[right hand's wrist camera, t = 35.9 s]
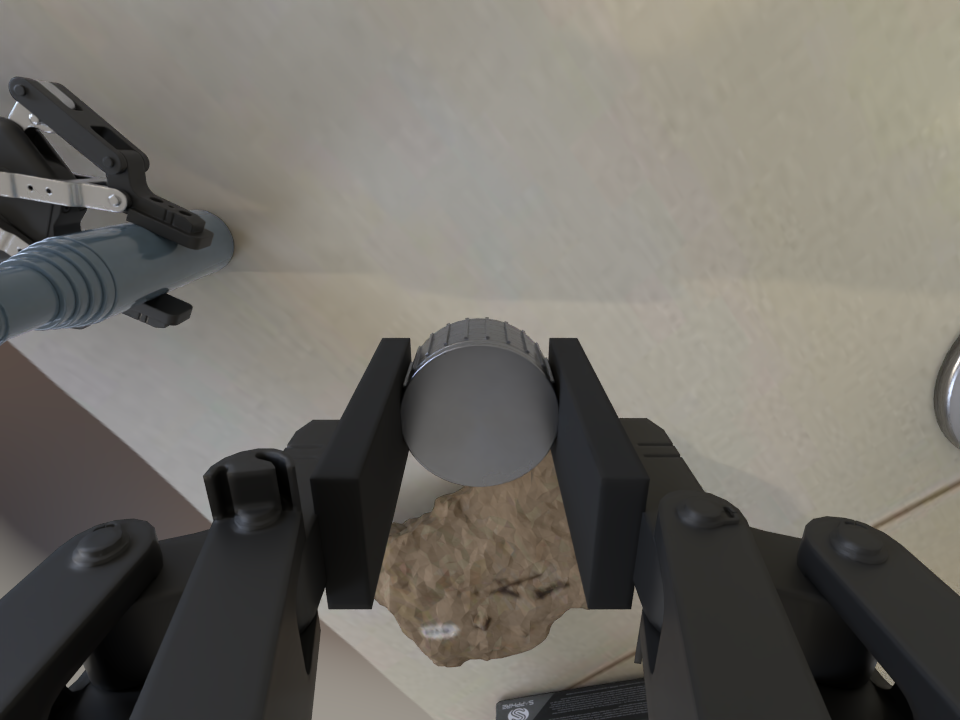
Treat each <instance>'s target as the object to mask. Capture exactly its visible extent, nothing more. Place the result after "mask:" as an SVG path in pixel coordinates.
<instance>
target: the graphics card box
mask: <svg viewBox="0 0 960 720" xmlns="http://www.w3.org/2000/svg"><path fill="white" fill-rule="evenodd" d="M496 720H649V718H648V708H647V699H646V689H645V679H644V678H642V679H637V680H630V681H624V682H616V683H611V684H604V685H599V686H592V687H585V688H580V689H574V690H566V691H560V692H555V693H553V692H552V693H547V694H541V695H535V696H529V697H523V698H516V699H511V700H510V699H509V700H504V701H499V702H498V703H497V704H496Z"/></svg>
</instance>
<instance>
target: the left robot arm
mask: <svg viewBox="0 0 960 720" xmlns="http://www.w3.org/2000/svg"><path fill="white" fill-rule="evenodd" d="M9 91H10V93H11V95H12V97H13V98H14V99H15V100H16V101H17V102H16V103H15V105H14V107H13V109H12V111H11V112H10V114H9V116H8V118H3V117H0V263H2V262H4V261H6V260H8V259H9V258H10V257H12V256H14V255H16V254H17V253H18V252H20V251H21V250H23V249H25V248H27V247H28V246H30V245H31V244H33V243H35V242H39V241H41V240H43V239H46V238H49V237H54V236H59V235H64V234H69V233H75V232H80V231H81V226H80V221H81V219H82V218H83V216H84V214H85V212H86V211H87V208H93V209H99V210H105V211H111V212H117V213H119V212H123V213H126V214H128V215H127V221H129V222H131V223H133V224H136V225H138V226H140V227H143V228H145V229H147V230H149V231H151V232H153V233H155V234H158V235H160V236H162V237H164V238H167V239H169V240H171V241H173V242H175V243H178V244H180V245H182V246H184V247H186V248H189V249H193V250H199V249H202V248H205V247H208V246H211V243H212V239H213V236H214V233H213V232H211V231H210V230H208V229H205V228H204V227H205V224H206V222H205V221H204V220H203V219H202V218H201V217H200V216H199V215H197V214H195V213H193V212H191V211H188V210H187V209H184V208H182V207H180V206H178V205H176V204H174V203H171V202H169V201H167V200H165V199H163V198H161V197H159V196H157V195H155V194H153V193H152V192H151V191H150V189H149V188H148V186H147V183H146V176H145V172H146V171H147V170H148V169H149V160H148V157H147V156H146V155H145V154H144V153H143V152H142V151H141V150H140V149H138V148H137V147H136V146H135V145H134V144H132V143H131V142H130V141H129V140H128V139H126V138H125V137H124V136H123V135H122V134H120V133H119V132H118V131H117V130H116V129H114V128H113V127H112V126H111V125H110V124H109V123H107V122H106V121H105V120H104V119H103V118H101V117H100V116H99V115H98V114H97V113H95V112H94V111H93V110H92V109H91V108H89V107H88V106H87V105H86V104H85V103H83V102H82V101H81V100H80V99H79V98H77V97H76V96H75V95H74V94H73V93H71V92H70V91H69V90H68V89H67V88H66V87H64V86H63V85H61V84H59V83H54V82H48V81H42V80H35V79H29V78H23V77H14V78H12V79H11V80H10V82H9ZM39 130H41V131H43V132H46V133H57V134H58V135H59V136H61V137H62V138H63V139H64V140H66V141H67V142H68V143H69V144H70V145H72V146H73V147H74V148H75V149H77V150H78V151H79V152H80V153H82V154H83V155H84V156H85V157H87V158H88V159H89V160H90V161H91V162H93V163H94V164H95V165H96V166H98V167H99V168H100V169H101V170H103V171H104V172H105V173H106V177H107V179H106V178H101V177H95V176H89V175H84V174H78V173H72V172H71V171H70V169H69V168H68V167H67V165H66V164H65V163H64V162H63V160H62V159H61V158H60V156H59V155H58V154H57V152H56V151H55V150H54V149H53V147H52V146H51V145H50V143H49V142H48V141H47V139H46V138H45V137H44V136H43V134H42V133H41V132H40V131H39ZM192 308H193V307H192V305H190V304H189V303H187V302H184V301H182V300H180V299H177V298H175V297H173V296H171V295H168V294H166V293H165V294H163V295H160V296H158V297H156V298H154V299H151V300H149V301H147V302H145V303H142V304H140V305H138V306H135V307H133V308H131V309H129V310H126V311H124V312H122V313H123V314H125V315H128V316H130V317H132V318H135V319H137V320H139V321H142V322H144V323H146V324H149V325H151V326H153V327H157V328H166V327H168V326H169V325H178V324H180V323H182V322H183V321H185V320H187V319H189V318H190V315H191V311H192ZM90 325H91V324H90ZM90 325H87V326H84V327H73V328H74V329H84V328H86V327H88V326H90Z"/></svg>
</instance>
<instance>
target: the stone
mask: <svg viewBox="0 0 960 720" xmlns="http://www.w3.org/2000/svg"><path fill="white" fill-rule="evenodd" d="M374 599H375V600H377V602H378V603H379V604H380V605H382V606H385V607H386V608H388V610H389V611H390V612H391V613H392V614H393V615H394V617H395V618H396V620H397V622H398V623H399V625H400V627H401V629H402V632H403V633H404V634H405V635H406V636H407V637H409V638H410V639H412V640H413V641H414V642H415V643H416V644H417V646H418V647H419V648H420V649H421V651H422V652H423V653H424V654H425V655H427V656H428V657H429V658H430V659H431V660H432V661H433V663H434V664H436V665H437V666H445V667H457V666H461V665H462V664H463V663H464V662H465V661H468V660H470V659H482V660H485V661H488V660H490V659H497V658H504V657H507V656H511V655H515V654H519V653H522V652H525V651H528V650H531V649H533V648H534V647H536V646H537V645H538V644H540V643H541V642H543V641H544V640H545V639H546V637H547V636H548V634H549V631H550V627H551V625H552V624H553V622H554V621H555V620H557V619H558V618H560V617H561V616H562V615H563V614H564V613H565V612H566V611H567V610H569V609H570V608H584V609H588V607H587V603H586V598H585V594H584V590H583V586H582V581H581V577H580V573H579V569H578V564H577V560H576V556H575V552H574V547H573V543H572V539H571V535H570V530H569V526H568V522H567V518H566V513H565V509H564V505H563V501H562V496H561V492H560V488H559V484H558V479H557V475H556V471H555V467H554V462H553V458H552V454H551V450H549V452H548V454H547V455H546V456H545V457H544V459H543V460H542V461H541V462H540V463H539V464H538V465H537V466H536V467H535V468H533V469H532V470H531V471H529V472H528V473H526V474H525V475H523V476H521V477H519V478H517V479H515V480H513V481H510V482H507V483H504V484H500V485H495V486H487V487H471V486H465V487H463V488H462V489H461V490H459V491H457V492H455V493H453V494H447V495H443V496H441V497H439V498H437V499H436V500H435V506H434V509H433V510H432V511H431V512H430V513H425V514H423V515H422V516H421V517H420V518H411V519H408V520H407V521H405V523H404V524H397V523H394V524H392V525H391V529H390V533H389V538H388V542H387V546H386V550H385V555H384V559H383V563H382V567H381V572H380V576H379V580H378V584H377V589H376V593H375V597H374ZM588 610H590V609H588Z"/></svg>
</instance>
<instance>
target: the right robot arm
mask: <svg viewBox="0 0 960 720" xmlns="http://www.w3.org/2000/svg"><path fill="white" fill-rule="evenodd" d="M410 362H411V345H410V338H382V340H381V342H380V344H379V346H378V348H377V350H376V351H375V353H374V355H373V357H372V359H371V361H370V363H369V365H368V367H367V369H366V371H365V373H364V375H363V377H362V378H361V380H360V382H359V384H358V386H357V388H356V390H355V392H354V394H353V396H352V398H351V400H350V402H349V404H348V406H347V407H346V409H345V411H344V413H343V415H342V417H341V419H340V420H312V421H311V422H309V423H308V424H306V425H305V426H303V427H302V428H301V429H299V430H298V431H296V432H295V434H294V436H293V437H292V439H291V440H290V442H289V443H288V445H287V448H285V449H284V451H281V450H277V449H253V450H248V451H242V452H239V453H236V454H234V455H231V456H228V457H226V458H224V459H222V460H221V461H219V462H217V463H216V464H214V465H213V466H211V467H210V468H209V470H208V471H207V472H206V473H205V474H204V475H203V478H204V482H205V487H206V491H207V495H208V499H209V504H210V508H211V512H212V516H213V520H214V521H213V523H212V525H211V528H210V529H209V530H205V531H202V532H198V533H194V534H189V535H184V536H180V537H175V538H170V539H165V540H161V541H158V538H157V535H156V531H155V528H154V527H153V526H152V525H151V524H150V523H148V522H147V521H143V520H138V519H124V520H115V521H111V522H107V523H103V524H100V525H97V526H94V527H92V528H90V529H88V530H86V531H84V532H82V533H80V534H78V535H76V536H74V537H73V538H71V539H70V540H69V541H67V542H66V543H64V544H63V545H62V546H60V547H59V548H58V549H57V550H55V551H54V552H53V553H52V554H51V555H50V556H49V557H48V558H46V559H45V560H44V561H43V562H42V563H41V564H40V565H39V566H37V567H36V568H35V569H34V570H33V571H32V572H31V573H30V574H28V575H27V576H26V577H25V578H24V579H23V580H22V581H21V582H19V583H18V584H17V585H16V586H15V587H14V588H13V589H12V590H10V591H9V592H8V593H7V594H6V595H5V596H4V597H3V598H1V599H0V720H311V719H312V709H313V700H314V690H315V681H316V671H317V661H318V651H319V642H320V632H321V629H320V623H319V616H318V610H317V609H318V606H319V603H320V600H321V597H322V594H323V592H324V589H325V588H326V595H327V602H328V609H372V606H373V601H374V597H375V593H376V589H377V584H378V580H379V576H380V572H381V567H382V563H383V559H384V555H385V550H386V546H387V542H388V538H389V533H390V529H391V525H392V521H393V516H394V512H395V508H396V504H397V499H398V495H399V491H400V487H401V482H402V478H403V474H404V470H405V465H406V461H407V457H408V453H409V449H408V447H407V445H406V443H405V441H404V438H403V435H402V426H401V410H400V402H401V399H402V395H403V392H404V389H405V388H402V387H403V384H404V381H405V378H406V374H407V371H408V368H409V365H410ZM548 362H549V365H550V368H551V372H552V375H553V378H554V381H555V383H554V384H553V385H554V388H555V391H556V395H557V398H558V402H559V420H558V432H557V436H556V439H555V441H554V443H553V445H552V447H551V449H550V450H551V454H552V458H553V462H554V467H555V471H556V475H557V479H558V484H559V488H560V492H561V496H562V501H563V505H564V509H565V513H566V518H567V522H568V526H569V530H570V535H571V539H572V543H573V547H574V552H575V556H576V560H577V564H578V569H579V573H580V577H581V581H582V586H583V590H584V594H585V598H586V603H587V607H588V609H631V606H632V599H633V593H634V586H635V587H636V590H637V593H638V596H639V598H640V601H641V604H642V607H643V610H642V616H641V622H640V629H639V635H638V642H637V648H636V654H635V661H634V663H638V664H641V661H642V660H643V670H644V679H645V689H646V699H647V708H648V718H649V720H960V596H959V595H958V594H957V593H955V592H954V591H953V590H952V589H951V588H950V587H949V586H948V585H946V584H945V583H944V582H943V581H942V580H941V579H940V578H938V577H937V576H936V575H935V574H934V573H933V572H932V571H931V570H929V569H928V568H927V567H926V566H925V565H924V564H923V563H921V562H920V561H919V560H918V559H917V558H916V557H915V556H913V555H912V554H911V553H910V552H909V551H908V550H907V549H906V548H904V547H903V546H902V545H901V544H900V543H898V542H897V541H895V540H894V539H892V538H891V537H890V536H888V535H887V534H885V533H884V532H882V531H879V530H877V529H875V528H873V527H871V526H869V525H867V524H865V523H862V522H859V521H854V520H852V519H847V518H840V517H829V516H826V517H821V518H815V519H813V520H811V521H810V522H809V523H808V524H807V525H806V526H805V530H804V533H803V537H802V539H801V538H796V537H791V536H786V535H781V534H777V533H772V532H767V531H763V530H759V529H756V528H752V527H749V525H748V522H747V520H746V519H745V517H744V516H743V514H742V513H741V512H740V510H739V509H738V508H736V507H735V506H733V505H732V504H731V503H729V502H728V501H727V500H724V499H722V498H720V497H718V496H715V495H713V494H711V493H706V492H704V490H703V489H702V487H701V486H700V484H699V483H698V481H697V480H696V478H695V477H694V475H693V474H692V472H691V470H690V469H689V467H688V466H687V464H686V463H685V461H684V460H683V458H682V457H680V454H679V452H678V451H677V449H676V448H675V446H673V443H672V442H671V440H670V439H669V437H668V436H667V434H666V432H665V431H664V430H663V429H662V428H660V427H659V426H657V425H656V424H655V423H653V422H652V421H650V420H649V419H647V418H618V416H617V414H616V412H615V410H614V408H613V406H612V404H611V402H610V400H609V398H608V397H607V395H606V393H605V391H604V389H603V387H602V385H601V383H600V381H599V379H598V377H597V375H596V373H595V371H594V370H593V368H592V366H591V364H590V362H589V360H588V358H587V356H586V354H585V352H584V350H583V348H582V346H581V344H580V342H579V341H578V339H577V338H550V339H549V358H548ZM934 410H935V416H936V419H937V422H938V424H939V427H940V429H941V430H942V432H943V433H944V435H945V436H946V438H947V439H948V440H949V441H950V442H951V443H952V444H953V445H955V446H956V447H957V448H959V449H960V336H959V337H958V339H957V340H956V341H955V343H954V344H953V346H952V347H951V349H950V350H949V352H948V354H947V356H946V357H945V359H944V361H943V363H942V366H941V368H940V371H939V374H938V377H937V380H936V385H935V390H934ZM877 661H878V663H879V664H880V665H881V666H882V667H883V669H884V670H885V671H886V672H887V673H888V675H889V676H890V677H891V678H892V679H893V681H894V682H895V684H894V685H893V686H892V685H890V684H889V683H888V682H887V681H886V680H885V679H884V678H883V677H882V676H881V675H880V673H879V672H878V671H877V670H876V668H875V666H876V664H877ZM82 665H84V667H85V671H84V672H83V673H82V675H81V676H80V677H79V678H78V680H77V681H76V682H74V683H73V684H72V685H71V686H70V687H69V688H67V687H66V684H67V683H68V682H69V680H70V679H71V678H72V677H73V676H74V674H75V673H76V672H77V671H78V669H79V668H80V667H81V666H82Z"/></svg>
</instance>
